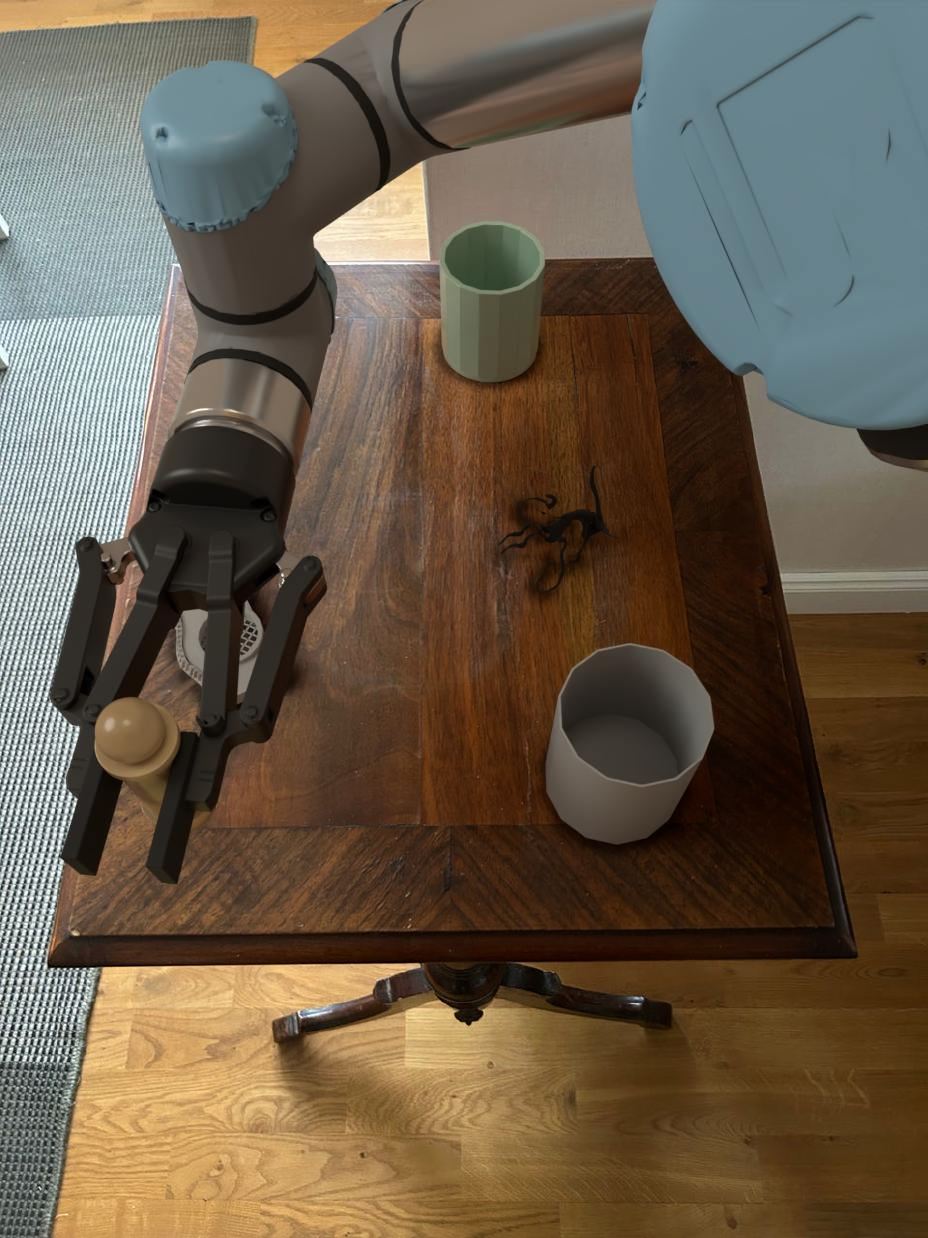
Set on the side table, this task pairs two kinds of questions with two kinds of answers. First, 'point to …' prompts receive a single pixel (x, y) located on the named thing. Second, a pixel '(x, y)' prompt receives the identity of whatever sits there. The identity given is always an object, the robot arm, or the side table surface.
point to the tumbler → (491, 300)
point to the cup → (626, 741)
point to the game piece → (141, 751)
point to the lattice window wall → (193, 645)
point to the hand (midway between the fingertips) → (120, 870)
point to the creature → (559, 526)
